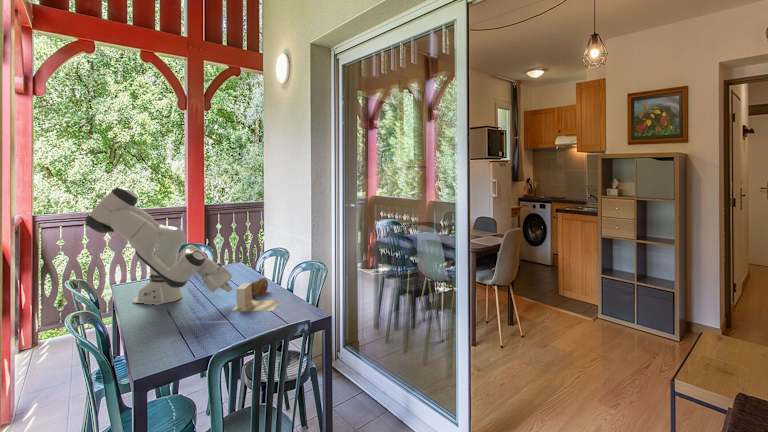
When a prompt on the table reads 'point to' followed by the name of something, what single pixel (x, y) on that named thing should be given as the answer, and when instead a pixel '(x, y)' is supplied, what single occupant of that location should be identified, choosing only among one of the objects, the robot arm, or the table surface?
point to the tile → (244, 295)
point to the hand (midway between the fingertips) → (230, 290)
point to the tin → (259, 287)
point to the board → (259, 306)
